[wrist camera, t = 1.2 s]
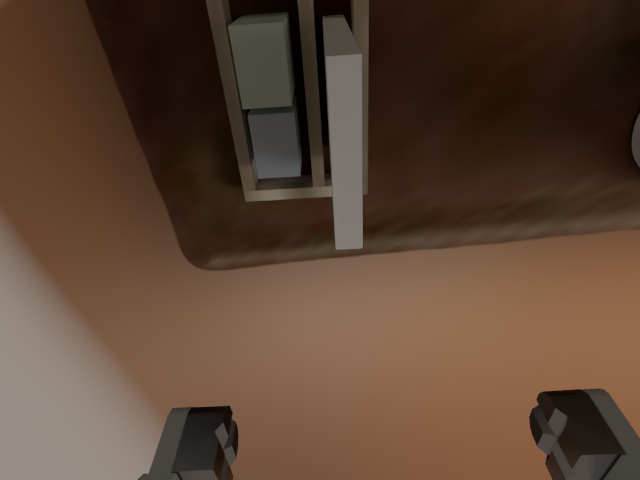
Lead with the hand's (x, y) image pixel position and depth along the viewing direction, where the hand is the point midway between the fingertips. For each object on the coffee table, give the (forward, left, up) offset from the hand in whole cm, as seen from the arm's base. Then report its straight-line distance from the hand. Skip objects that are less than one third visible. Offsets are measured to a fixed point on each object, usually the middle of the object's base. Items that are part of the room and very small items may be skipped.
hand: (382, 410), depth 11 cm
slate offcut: (+6, +3, -33) cm, 34 cm away
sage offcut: (+6, -4, -33) cm, 34 cm away
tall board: (0, 0, -33) cm, 33 cm away
